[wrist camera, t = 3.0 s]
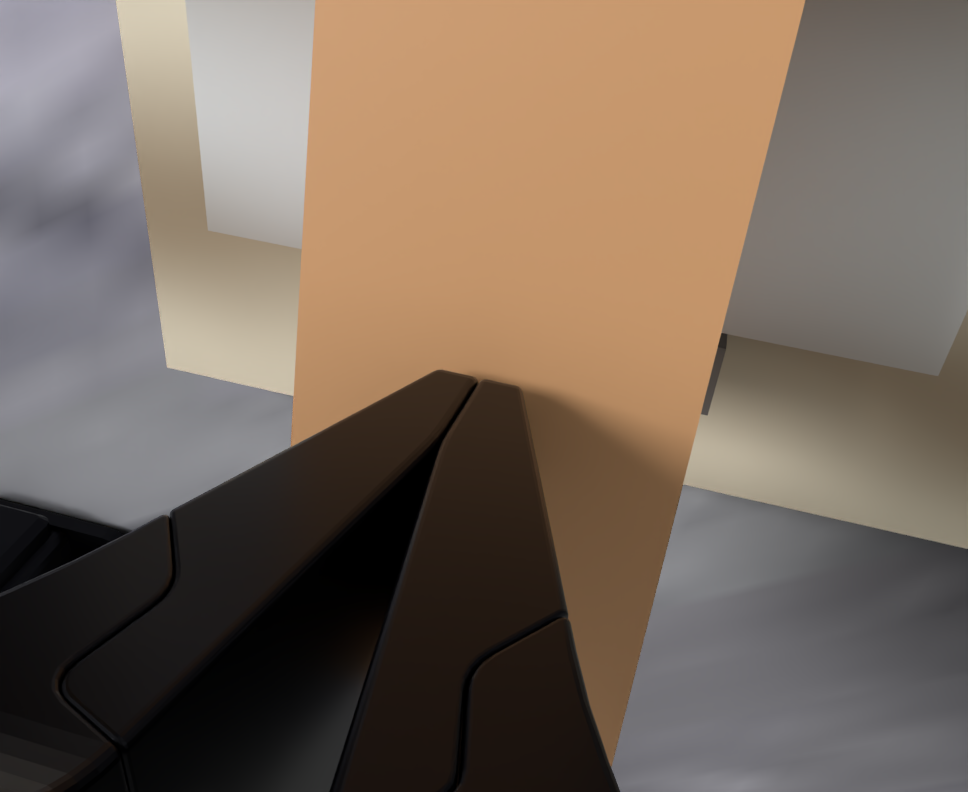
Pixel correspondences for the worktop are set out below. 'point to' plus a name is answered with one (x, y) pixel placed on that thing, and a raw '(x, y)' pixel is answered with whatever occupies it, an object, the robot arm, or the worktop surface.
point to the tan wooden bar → (542, 247)
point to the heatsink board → (760, 275)
